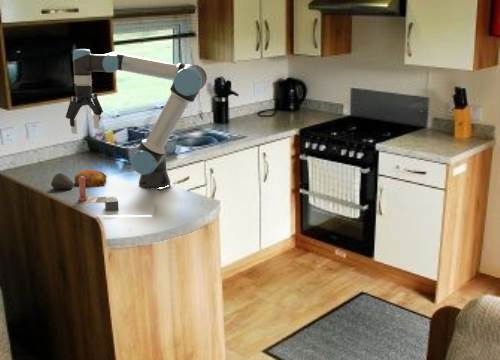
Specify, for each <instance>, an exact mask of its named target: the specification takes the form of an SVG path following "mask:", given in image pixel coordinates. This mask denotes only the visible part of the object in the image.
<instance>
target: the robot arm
mask: <svg viewBox="0 0 500 360" xmlns="http://www.w3.org/2000/svg"><path fill="white" fill-rule="evenodd" d="M72 63H73V81H74V93H75V96H71V95H70V99H69V100H70V101H69V104H68V108H67V112H66V114H65V118H66V119H67V120H68V119H69V126H70V132H71V134H74V135H77V134H78V126H77V125H78V124H77V118H76V117H77V115H78V113H79V112H80V109H81V108H82V107H83V106H88V107H89V108H90V109H91V111H92V112H93V113H94V114H93V129H94V130H95V129H96V130H99V129H100V121H101V117H100V116H101V115H102V113H104V110H103V108H102V105H101V103H100V101H99V99H98V95H97V93H93V86H92V81H93V80H92V72H99V73H100V72H102V73H103V72H104V73H116V72H117V71H122V72H128V73H131V74H132V73H133V74H136V75H137V74H138V75H142V76H147V77H153V78H158V79H163V80H167V81H172V82H173V83H172V85H170V86H171V87H170V88H169V89H170V95H169V97H168V99H167V101H166V103H165V105H164V107H163V109H162V111H161V112H160V113H159V116H158V118H157V120H156V121H155V123H154V124H153V127H152V129H151V130H150V132H149V133H148V136H147V138H143V139H141V142H140V144H139V145H138V147H137V149H136V151H134V152H133V154H132V156H131V158H130V165H131V167H132V169H133V170H134V171H135V172H136V173H137V174H139V175H140V177H139V179H138V187H139V188H144V189H148V188H149V189H150V190H152V189H151V188H159V187H165V186H167V185H170V186H171V179H170V177H169V173H168V171H167V143H168V141H169V139H170V137H171V136H172V134H173V133H174V130H175V128H176V126H177V125H178V123H179V121H180V119H181V117H182V116H183V113H184V112H185V110H186V109H187V107H188V105H189V104H190V103H193V102H194V101H195V100H196V97H197V96H198V94H199V92H200V91H201V89H203V88H204V87H205V85H206V83H207V80H208V79H207V78H208V77H207V73H206V71H205V69H204V68H203V67H202V66H200V65H197V64H191V63H189V64H188V63H183V62H180V63H178V64H177V63H171V62H165V61H161V60H156V59H150V58H145V57H139V56H134V55H128V54H124V53H120V52H119V51H111V52H108V53H104V54H96V53H95V54H93V53H91V50H90V49H89V48H88V49H87V48H79V49H78V48H77V49H73V52H72Z"/></svg>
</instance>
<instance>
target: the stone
mask: <svg viewBox="0 0 500 360" xmlns="http://www.w3.org/2000/svg"><path fill="white" fill-rule="evenodd" d="M51 187H52V188H53V189H55V190H66V189H67V190H72V189H73V188H74V182H73V181H72V179H71V178H70V177H69V176H67V175H65V174H63V173H56V174H55V175H54V176H53V178H52V180H51Z"/></svg>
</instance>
